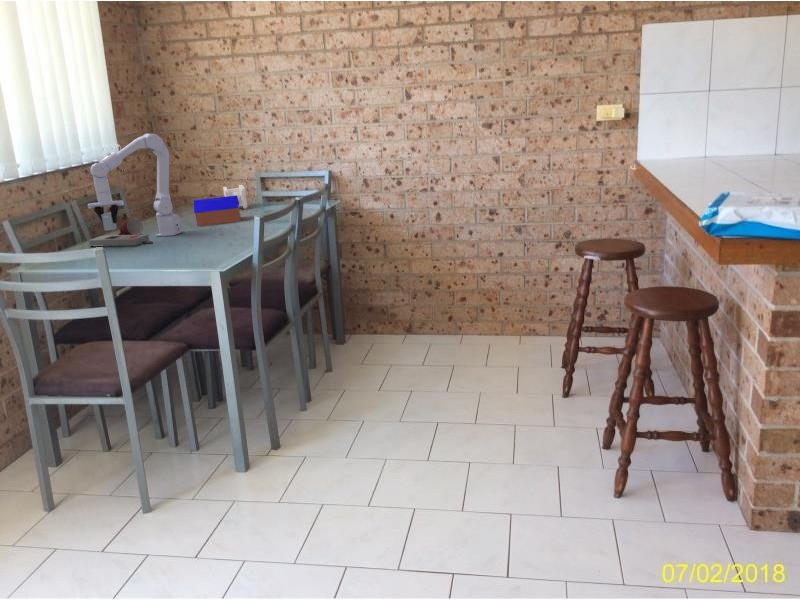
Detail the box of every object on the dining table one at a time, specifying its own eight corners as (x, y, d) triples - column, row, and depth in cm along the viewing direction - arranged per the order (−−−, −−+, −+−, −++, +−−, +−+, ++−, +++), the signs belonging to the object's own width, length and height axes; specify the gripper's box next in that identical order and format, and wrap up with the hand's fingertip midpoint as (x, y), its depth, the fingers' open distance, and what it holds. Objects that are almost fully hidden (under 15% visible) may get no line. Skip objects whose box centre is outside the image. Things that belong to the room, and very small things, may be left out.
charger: (117, 228, 321) (113, 212, 319) (113, 229, 317) (110, 213, 315) (107, 228, 321) (104, 212, 319) (104, 230, 317) (101, 214, 315)
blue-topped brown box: (240, 222, 347) (236, 197, 344) (196, 227, 345) (192, 202, 341) (241, 217, 359) (237, 193, 355) (199, 222, 356) (194, 198, 353)
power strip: (159, 240, 319) (157, 232, 318) (146, 245, 311) (144, 237, 310) (104, 242, 328) (102, 234, 327) (90, 247, 320) (88, 238, 319)
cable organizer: (226, 208, 391) (222, 186, 388) (246, 205, 394) (242, 183, 390) (227, 212, 377) (224, 189, 374) (248, 209, 380) (245, 186, 376)
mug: (122, 245, 339) (133, 243, 333) (108, 233, 335) (119, 231, 328) (134, 228, 344) (146, 225, 338) (121, 216, 340) (132, 213, 333)
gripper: (123, 188, 318) (129, 220, 322) (89, 192, 318) (96, 223, 322) (117, 191, 312) (124, 223, 316) (83, 194, 312) (90, 226, 316)
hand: (109, 223), depth 318 cm, fingers closed on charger, 4 cm apart
